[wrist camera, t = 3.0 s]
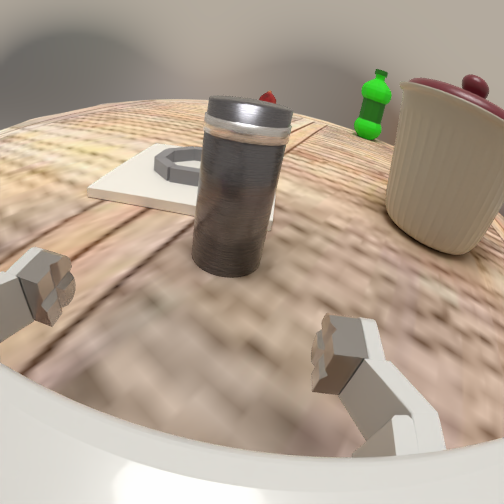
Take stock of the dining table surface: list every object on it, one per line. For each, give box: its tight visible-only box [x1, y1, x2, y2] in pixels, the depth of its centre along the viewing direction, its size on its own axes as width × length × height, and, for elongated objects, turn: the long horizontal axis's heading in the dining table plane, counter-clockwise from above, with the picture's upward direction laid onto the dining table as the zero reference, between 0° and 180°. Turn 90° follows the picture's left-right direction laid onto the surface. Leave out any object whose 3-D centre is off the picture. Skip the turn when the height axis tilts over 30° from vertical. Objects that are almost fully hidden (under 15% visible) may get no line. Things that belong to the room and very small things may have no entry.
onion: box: [259, 91, 276, 104], centre depth 95 cm, size 6×6×8 cm
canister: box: [386, 75, 504, 255], centre depth 29 cm, size 18×18×21 cm
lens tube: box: [192, 96, 293, 277], centre depth 20 cm, size 5×5×11 cm
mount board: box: [87, 143, 276, 231], centre depth 34 cm, size 18×18×2 cm
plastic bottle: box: [354, 69, 391, 140], centre depth 88 cm, size 10×10×25 cm
